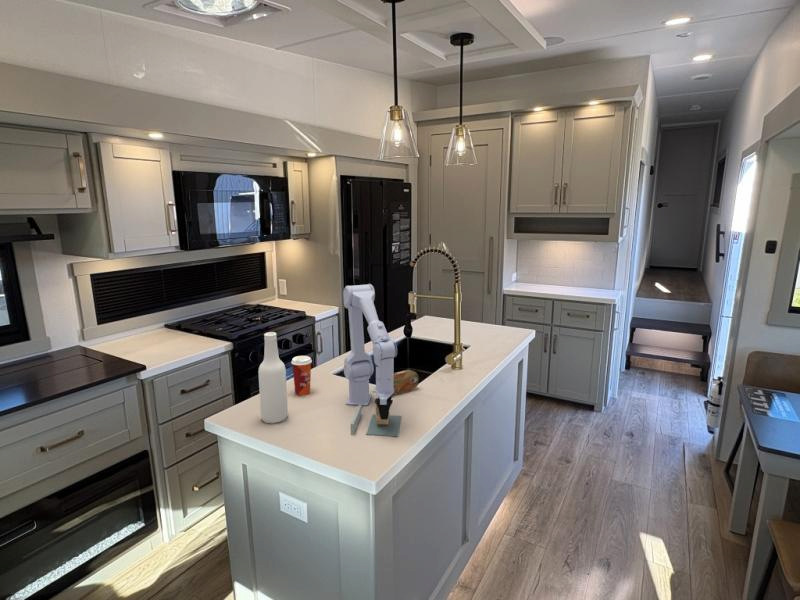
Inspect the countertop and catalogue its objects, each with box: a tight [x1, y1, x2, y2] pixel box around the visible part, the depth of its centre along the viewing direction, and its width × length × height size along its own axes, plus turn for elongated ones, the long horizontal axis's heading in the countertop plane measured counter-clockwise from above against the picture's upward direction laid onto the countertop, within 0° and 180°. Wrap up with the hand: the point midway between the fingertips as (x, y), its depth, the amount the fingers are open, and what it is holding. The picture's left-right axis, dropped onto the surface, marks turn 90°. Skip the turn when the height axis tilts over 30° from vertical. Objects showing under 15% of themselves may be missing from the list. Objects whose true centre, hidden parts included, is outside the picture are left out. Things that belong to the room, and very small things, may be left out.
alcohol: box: [257, 331, 289, 424], centre depth 151 cm, size 9×9×30 cm
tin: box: [392, 369, 420, 397], centre depth 176 cm, size 15×3×8 cm, turn 124°
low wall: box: [350, 405, 363, 435], centre depth 150 cm, size 14×1×4 cm, turn 175°
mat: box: [365, 413, 403, 438], centre depth 149 cm, size 14×10×1 cm
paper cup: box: [290, 355, 313, 396], centre depth 174 cm, size 8×8×14 cm
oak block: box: [375, 404, 390, 424], centre depth 149 cm, size 4×4×6 cm
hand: (384, 415), depth 149 cm, fingers closed on oak block, 4 cm apart
